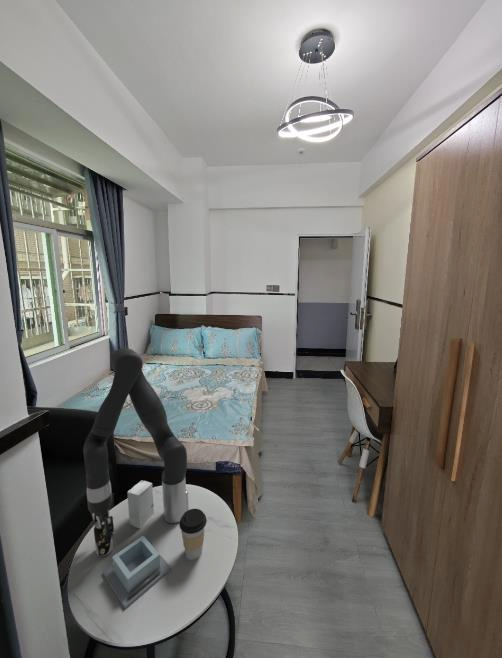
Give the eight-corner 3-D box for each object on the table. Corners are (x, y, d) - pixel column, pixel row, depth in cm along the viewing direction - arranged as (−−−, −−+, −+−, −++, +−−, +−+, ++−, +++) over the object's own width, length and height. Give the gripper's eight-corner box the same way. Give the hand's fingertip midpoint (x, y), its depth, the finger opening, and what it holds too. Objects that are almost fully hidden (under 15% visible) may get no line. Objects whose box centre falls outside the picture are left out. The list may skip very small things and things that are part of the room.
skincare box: (140, 529, 115) (137, 496, 112) (128, 524, 117) (126, 492, 114) (154, 514, 122) (153, 482, 120) (143, 509, 125) (141, 478, 122)
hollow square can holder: (146, 541, 109) (145, 526, 108) (171, 569, 99) (170, 553, 98) (102, 573, 98) (101, 557, 97) (125, 609, 87) (123, 591, 86)
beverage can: (94, 560, 102) (91, 531, 100) (97, 546, 108) (94, 518, 105) (112, 555, 104) (110, 526, 102) (114, 541, 109) (112, 514, 107)
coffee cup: (175, 554, 105) (173, 518, 102) (196, 536, 112) (194, 502, 109) (192, 571, 99) (190, 533, 96) (212, 551, 106) (212, 516, 103)
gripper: (119, 498, 100) (122, 538, 103) (102, 479, 109) (105, 516, 112) (96, 510, 94) (100, 553, 97) (80, 489, 103) (84, 529, 106)
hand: (103, 533), depth 104 cm, fingers open, 8 cm apart
